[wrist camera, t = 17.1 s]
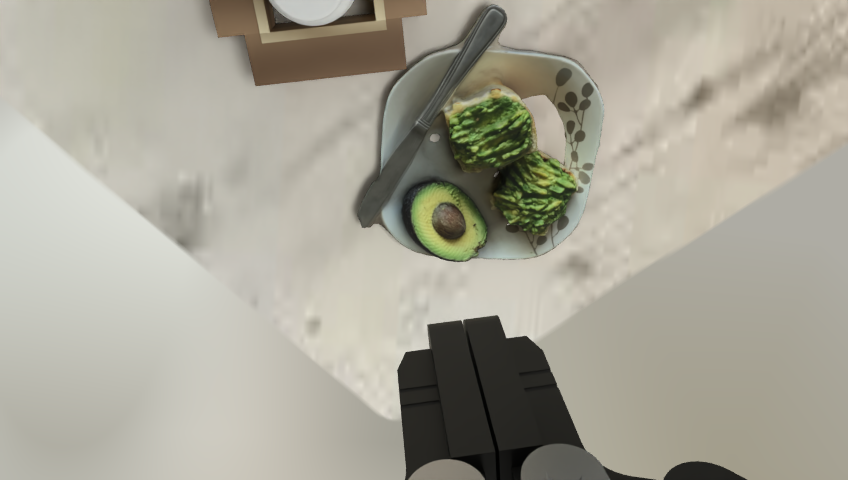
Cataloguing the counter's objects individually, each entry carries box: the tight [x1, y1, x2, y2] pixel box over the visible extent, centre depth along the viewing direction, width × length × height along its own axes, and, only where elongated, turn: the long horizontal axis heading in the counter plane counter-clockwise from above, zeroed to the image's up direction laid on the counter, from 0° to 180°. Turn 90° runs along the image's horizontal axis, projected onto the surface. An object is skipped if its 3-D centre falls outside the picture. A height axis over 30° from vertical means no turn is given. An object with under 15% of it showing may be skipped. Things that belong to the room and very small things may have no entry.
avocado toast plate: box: [358, 5, 604, 262], centre depth 44 cm, size 19×18×5 cm
